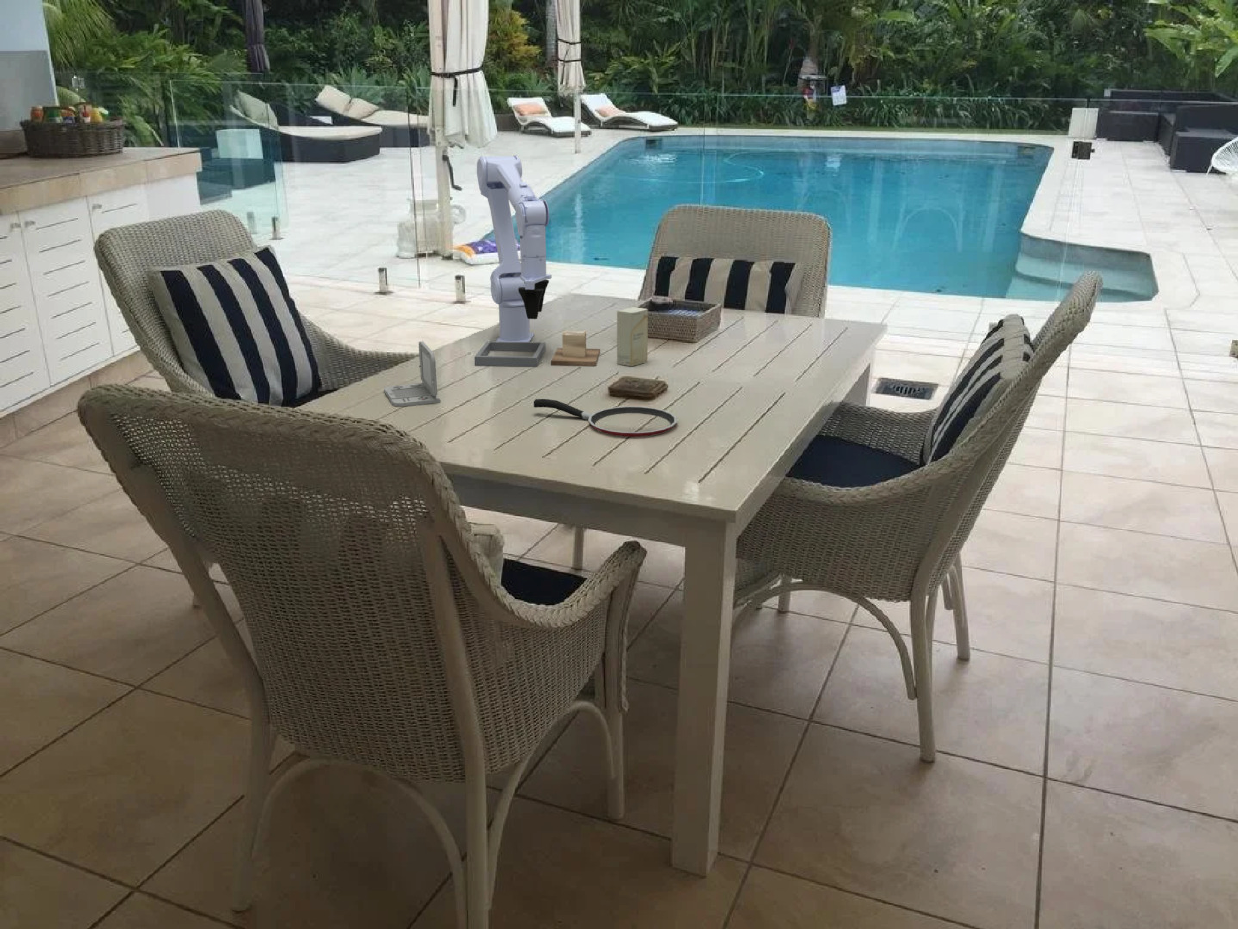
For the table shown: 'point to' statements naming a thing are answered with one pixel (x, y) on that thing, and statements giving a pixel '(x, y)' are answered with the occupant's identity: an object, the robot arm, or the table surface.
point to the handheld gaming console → (417, 391)
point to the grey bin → (485, 360)
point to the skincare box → (632, 336)
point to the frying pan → (611, 411)
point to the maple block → (574, 343)
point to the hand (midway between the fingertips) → (534, 315)
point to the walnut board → (576, 358)
